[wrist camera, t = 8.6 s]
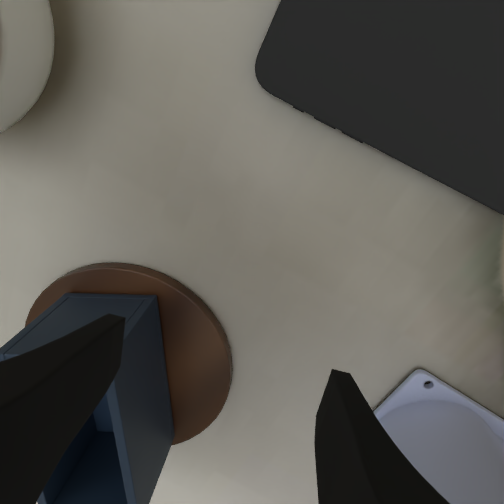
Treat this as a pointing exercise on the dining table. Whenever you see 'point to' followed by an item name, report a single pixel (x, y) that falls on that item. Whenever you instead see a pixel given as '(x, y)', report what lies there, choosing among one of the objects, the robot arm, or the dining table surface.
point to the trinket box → (23, 56)
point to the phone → (400, 81)
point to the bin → (111, 404)
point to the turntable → (166, 337)
